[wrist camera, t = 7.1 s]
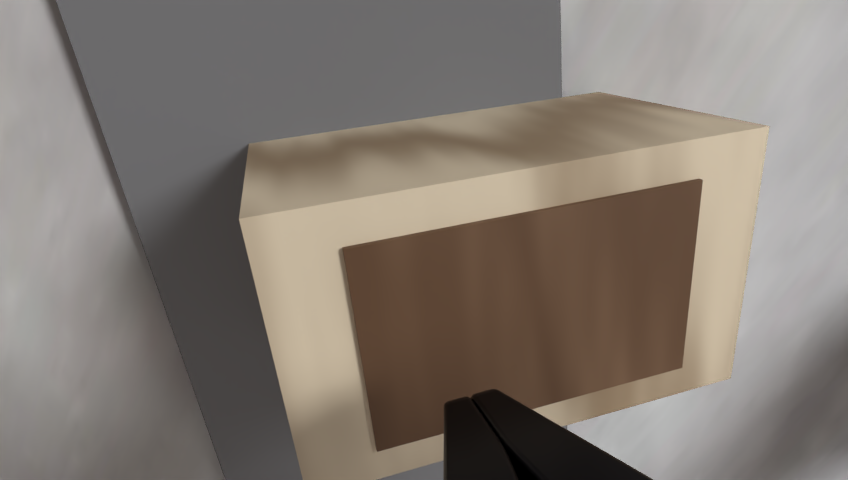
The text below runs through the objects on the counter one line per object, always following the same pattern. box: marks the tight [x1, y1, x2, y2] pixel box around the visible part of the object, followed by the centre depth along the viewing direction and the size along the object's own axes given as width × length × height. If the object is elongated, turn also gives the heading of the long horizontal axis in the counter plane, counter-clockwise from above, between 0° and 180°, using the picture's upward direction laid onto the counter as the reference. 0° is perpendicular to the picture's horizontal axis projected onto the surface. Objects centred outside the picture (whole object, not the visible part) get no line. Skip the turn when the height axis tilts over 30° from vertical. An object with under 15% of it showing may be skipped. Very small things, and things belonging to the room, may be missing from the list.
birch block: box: [239, 92, 769, 480], centre depth 13 cm, size 6×6×10 cm
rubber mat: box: [56, 0, 567, 480], centre depth 16 cm, size 12×20×1 cm, turn 7°
